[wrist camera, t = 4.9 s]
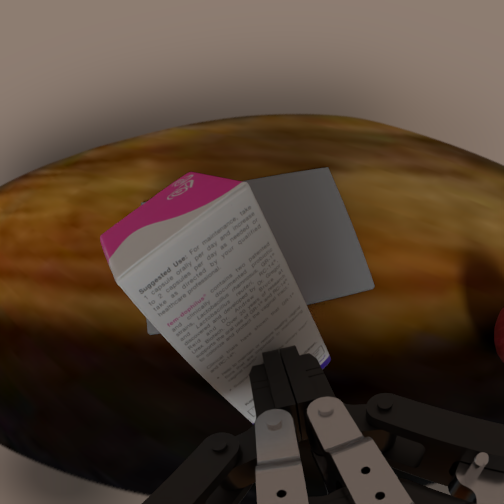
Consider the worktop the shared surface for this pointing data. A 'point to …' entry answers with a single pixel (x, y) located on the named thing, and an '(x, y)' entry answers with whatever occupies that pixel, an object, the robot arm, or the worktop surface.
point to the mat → (312, 234)
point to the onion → (499, 335)
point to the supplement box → (212, 281)
